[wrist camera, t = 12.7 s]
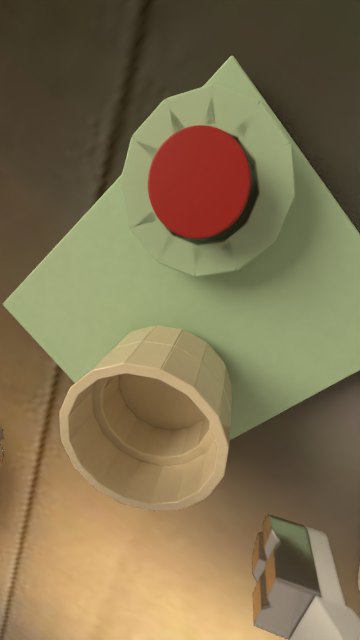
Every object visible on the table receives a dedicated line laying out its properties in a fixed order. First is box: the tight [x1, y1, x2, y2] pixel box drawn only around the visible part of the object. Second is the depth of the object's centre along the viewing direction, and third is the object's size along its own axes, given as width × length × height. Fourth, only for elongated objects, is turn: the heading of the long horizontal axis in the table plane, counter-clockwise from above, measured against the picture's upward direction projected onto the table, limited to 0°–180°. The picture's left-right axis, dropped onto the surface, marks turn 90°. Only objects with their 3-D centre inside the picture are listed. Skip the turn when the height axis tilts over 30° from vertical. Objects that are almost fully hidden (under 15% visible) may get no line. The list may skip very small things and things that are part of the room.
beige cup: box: [59, 325, 232, 511], centre depth 13 cm, size 6×6×4 cm
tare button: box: [148, 125, 251, 239], centre depth 10 cm, size 3×3×2 cm
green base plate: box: [3, 56, 360, 440], centre depth 14 cm, size 15×13×3 cm
